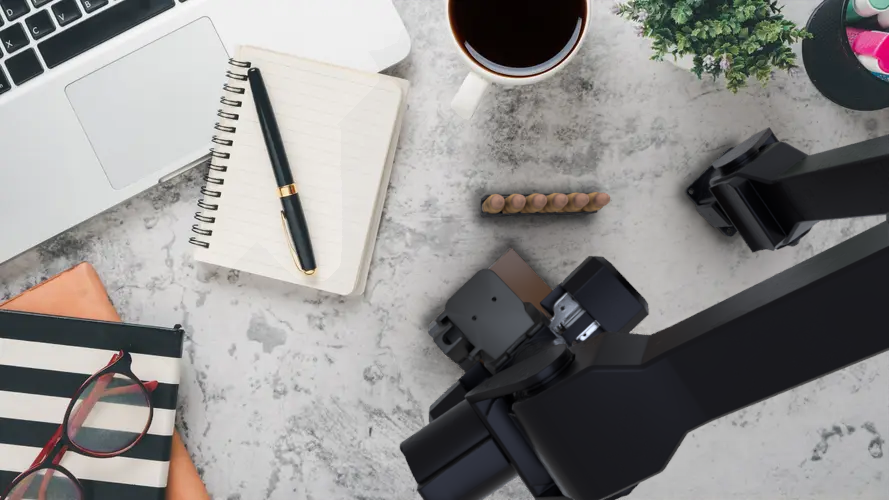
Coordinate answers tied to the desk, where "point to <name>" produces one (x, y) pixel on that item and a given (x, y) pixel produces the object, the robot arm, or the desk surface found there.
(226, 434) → the desk surface
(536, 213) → the ammunition clip
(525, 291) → the walnut board
